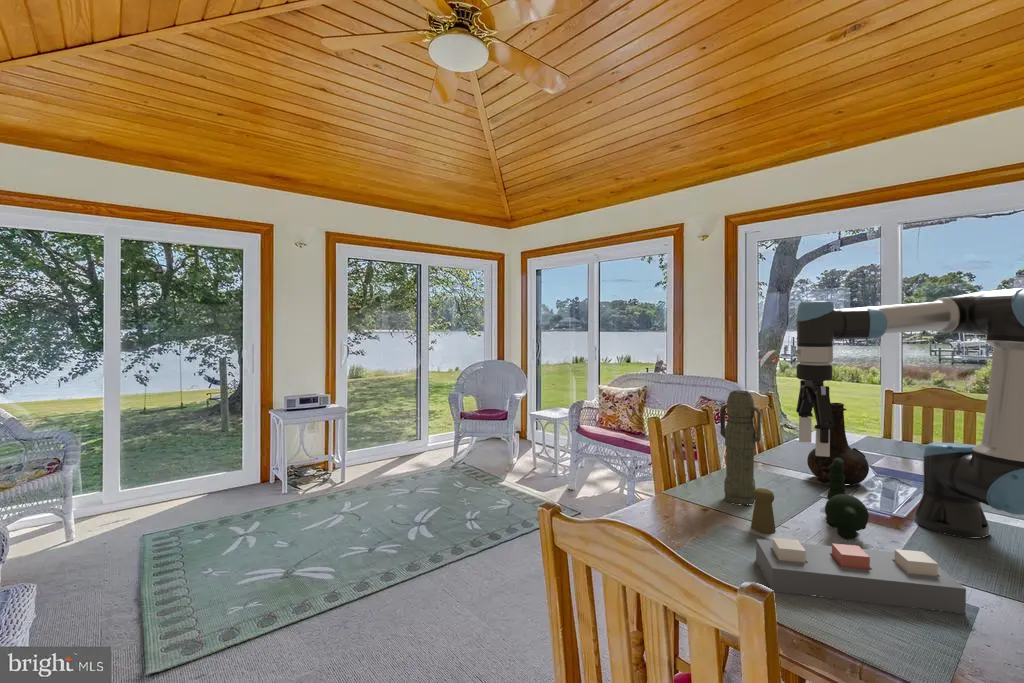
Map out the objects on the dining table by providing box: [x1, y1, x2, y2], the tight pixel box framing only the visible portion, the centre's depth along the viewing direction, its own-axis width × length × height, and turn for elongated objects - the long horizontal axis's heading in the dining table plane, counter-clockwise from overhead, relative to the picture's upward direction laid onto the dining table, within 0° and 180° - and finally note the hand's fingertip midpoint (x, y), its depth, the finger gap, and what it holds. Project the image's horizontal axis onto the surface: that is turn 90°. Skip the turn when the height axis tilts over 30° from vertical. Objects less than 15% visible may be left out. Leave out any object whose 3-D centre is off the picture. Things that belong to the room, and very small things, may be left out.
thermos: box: [719, 390, 762, 505], centre depth 152 cm, size 9×12×35 cm
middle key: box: [831, 543, 870, 570], centre depth 104 cm, size 5×5×4 cm
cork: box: [750, 487, 776, 535], centre depth 132 cm, size 6×6×11 cm
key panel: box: [755, 538, 967, 615], centre depth 104 cm, size 34×14×5 cm, turn 76°
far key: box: [772, 537, 806, 563], centre depth 107 cm, size 5×5×4 cm
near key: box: [894, 548, 939, 576], centre depth 101 cm, size 5×5×4 cm
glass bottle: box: [807, 402, 870, 486], centre depth 169 cm, size 18×18×28 cm
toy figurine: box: [824, 458, 870, 541], centre depth 131 cm, size 9×19×25 cm
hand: (813, 448), depth 120 cm, fingers open, 13 cm apart
